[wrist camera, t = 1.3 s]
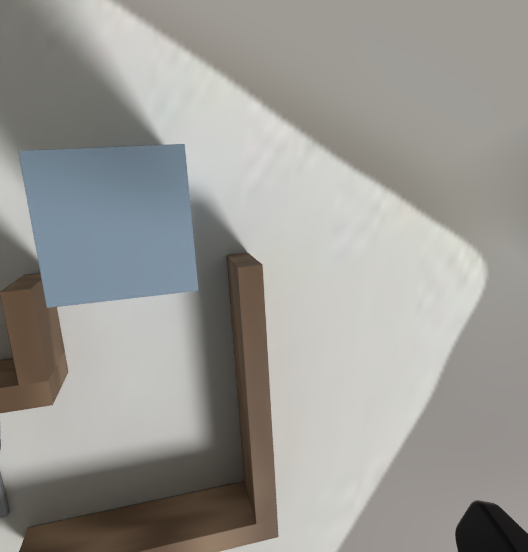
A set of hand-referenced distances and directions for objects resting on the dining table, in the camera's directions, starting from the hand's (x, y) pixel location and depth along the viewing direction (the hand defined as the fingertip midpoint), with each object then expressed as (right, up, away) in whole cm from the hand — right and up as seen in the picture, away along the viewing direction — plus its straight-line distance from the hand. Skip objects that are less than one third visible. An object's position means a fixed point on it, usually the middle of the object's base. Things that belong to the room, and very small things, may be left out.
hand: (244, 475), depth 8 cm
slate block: (-6, +7, +14) cm, 17 cm away
